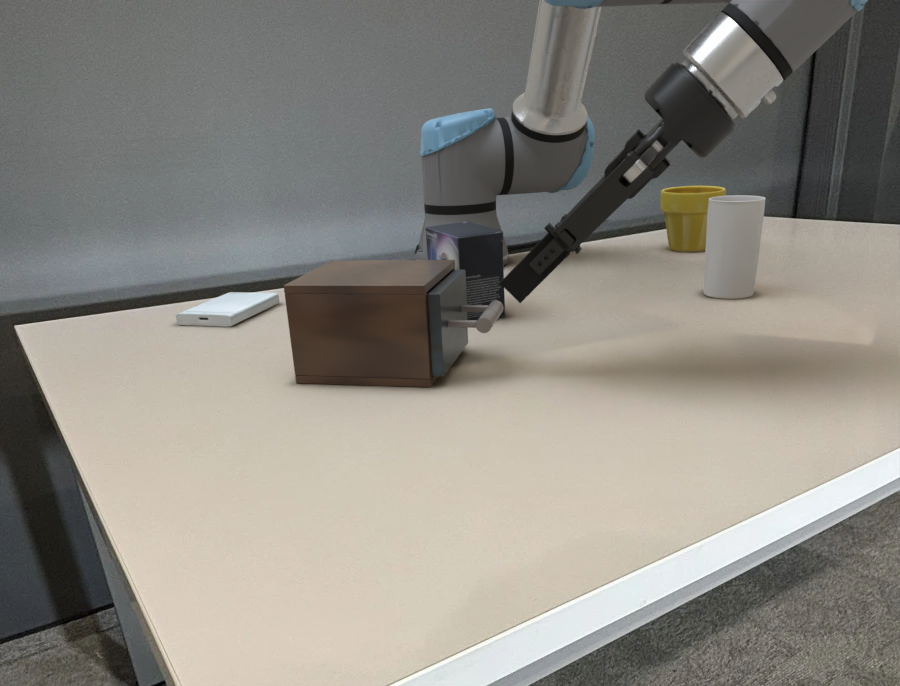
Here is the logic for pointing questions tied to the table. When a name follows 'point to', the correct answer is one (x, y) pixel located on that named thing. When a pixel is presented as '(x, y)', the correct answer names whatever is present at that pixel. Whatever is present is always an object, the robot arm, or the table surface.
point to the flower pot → (687, 215)
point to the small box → (471, 259)
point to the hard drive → (227, 309)
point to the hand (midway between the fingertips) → (511, 291)
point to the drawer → (454, 320)
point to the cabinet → (363, 322)
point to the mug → (732, 245)
